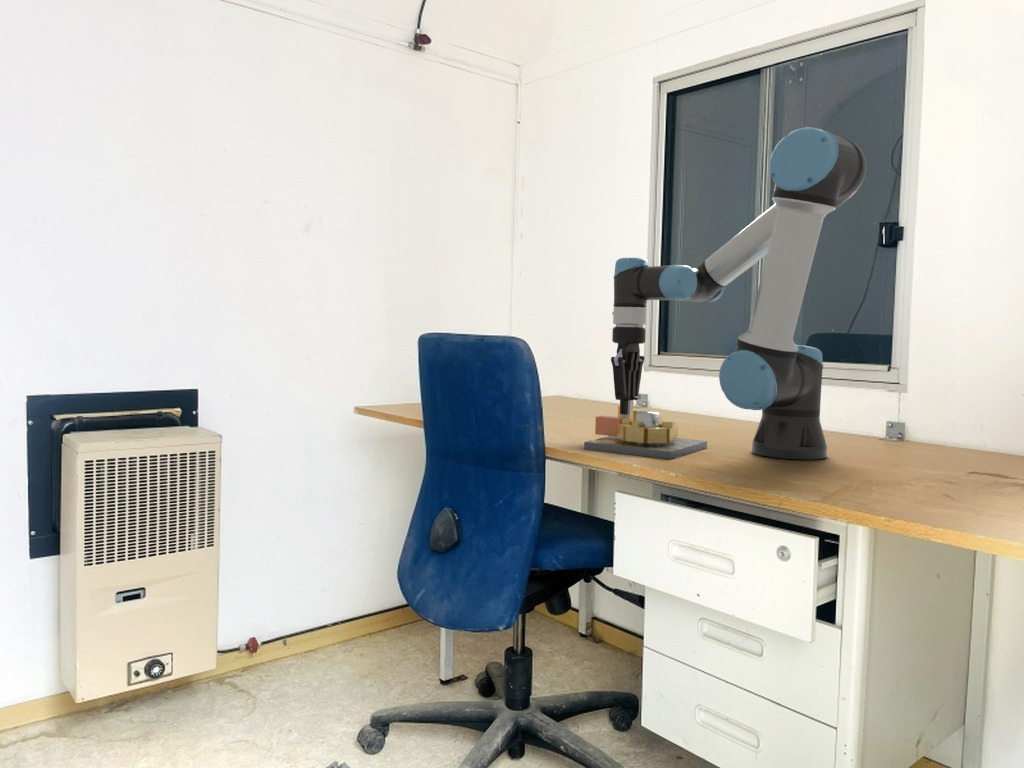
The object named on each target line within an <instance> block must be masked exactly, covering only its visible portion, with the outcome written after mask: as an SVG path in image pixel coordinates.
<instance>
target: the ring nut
mask: <svg viewBox="0 0 1024 768" xmlns="http://www.w3.org/2000/svg"><path fill="white" fill-rule="evenodd" d="M594 427H595V428H594V429H595V430H594V434H595V435H598V436H599V435H600V436H606V437H609V436H616V437H617V438H618V439H621V440H625V441H630V442H640V443H645V442H646V443H666V442H667V443H670V442H674V441H677V438H678V433H679V432H678V430H679V429H678V428H679V426H678V425H676V421H672V420H671V421H670V420H663V417H660V416H659V427H643V422H642V421H634V422H633V418H628V417H618V416H609V415H598V416H597V415H596V416H595V426H594Z"/></svg>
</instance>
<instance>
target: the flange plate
mask: <svg viewBox="0 0 1024 768" xmlns="http://www.w3.org/2000/svg"><path fill="white" fill-rule="evenodd" d="M659 417H660V412H659V411H655V410H636V421H642V422H643V427H659ZM583 443H584V444H583V449H584V450H590V451H597V452H607V453H614V454H623V455H625V454H626V455H633V456H640V457H642V456H643V457H649V458H657V459H667V460H673V459H677V458H679V457H682V456H685V455H689V454H691V453H695V452H697V451H701V450H705V449H707V448H708V440H701V439H691V438H681V437H677V441H674V442H670V443H667V442H666V443H646V442H645V443H640V442H630V441H625V440H621V439H618V438H617V437H616V436H605V437H600V438H597V439H590V440H587V441H584V442H583Z"/></svg>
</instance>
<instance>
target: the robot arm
mask: <svg viewBox="0 0 1024 768" xmlns="http://www.w3.org/2000/svg"><path fill="white" fill-rule="evenodd" d="M768 165H769V166H768V167H769V175H770V176H771V178H772V181H773V183H774V189H773V193H772V198H771V201H773V203H774V204H773V205H772V206H770V207H769V208H768V209H767V210H765V212H763V213H762V214H760V215H759V216H758V217H757V218H756V219H754V220H753V221H752V222H751V223H750V224H749V225H746V227H745V228H743V229H742V230H741V231H740V232H739V233H737V234H736V235H734V236H733V237H732V238H731V239H730V240H729V241H727V242H726V243H725V244H723V245H722V246H721V247H720V248H719V249H717V250H716V251H714V252H713V253H712V254H711V255H710V256H709V257H707V258H706V259H705V260H704V261H703V262H701V263H700V264H698V265H697V266H696V267H691V266H689V265H684V264H683V265H682V264H671V265H657V266H654V265H653V266H649V261H648V259H647V258H643V257H621V258H618V259H617V260H616V261H615V266H614V274H613V295H614V296H613V311H612V313H611V314H612V318H613V319H612V322H613V323H612V324H613V325H615V326H614V327H612V341H611V342H612V343H614V344H617V348H616V356H610V357H611V358H610V362H611V365H612V373H613V374H612V375H613V386H614V387H613V388H614V389H613V390H614V397H615V400H617V401H619V405H620V417H628V418H633V410H634V401H638V400H639V393H640V387H641V386H640V385H641V380H642V379H641V378H642V372H643V365H644V363H645V356H644V355H640V353H641V350H640V344H641V345H642V344H645V342H646V334H647V333H646V331H647V330H646V327H644V326H645V325H647V303H648V301H679V302H694V303H703V304H706V303H712V302H716V301H718V300H720V298H721V297H723V294H724V292H725V290H726V286H728V285H729V284H730V283H731V282H733V281H734V280H735V279H737V278H739V276H741V275H742V274H744V273H745V272H746V271H748V269H750V268H751V267H754V265H755V264H757V263H758V262H760V261H761V260H762V259H763V258H765V260H764V265H763V269H762V273H761V277H760V281H759V284H758V285H759V286H758V290H757V294H756V297H755V302H754V306H753V309H752V313H751V318H750V322H749V326H748V329H747V330H746V331H745V332H744V333H742V334H740V335H739V336H738V339H737V341H736V342H737V343H736V346H735V349H734V350H735V351H733V352H732V353H730V355H728V356H727V357H725V359H724V360H723V362H722V363H721V366H720V369H719V373H718V376H719V377H718V381H719V386H720V389H721V391H722V393H723V394H724V396H725V399H727V401H729V402H730V403H731V404H732V405H733V406H736V407H737V408H740V409H741V410H742V409H743V410H752V411H761V418H760V421H759V423H758V426H757V429H756V431H755V434H754V437H753V439H752V443H751V452H752V453H753V454H755V455H757V456H758V455H759V456H763V457H768V458H776V459H785V460H806V461H807V460H809V461H810V460H821V459H825V458H827V457H828V446H827V442H826V439H825V435H824V432H823V431H824V430H823V428H822V424H821V417H820V416H821V414H820V413H821V399H822V384H823V383H822V382H823V381H822V380H823V369H824V363H823V352H822V351H821V350H820V349H818V348H817V347H813V346H808V345H807V346H806V345H799V344H796V343H795V341H794V334H795V331H796V328H797V322H798V319H799V315H800V312H801V309H802V304H803V300H804V296H805V292H806V287H807V285H808V282H809V281H808V280H809V278H810V277H809V276H810V273H811V268H812V265H813V261H814V257H815V255H816V254H815V253H816V249H817V247H818V242H819V238H820V235H821V234H820V233H821V230H822V226H823V222H824V219H825V217H827V216H828V215H830V214H831V213H832V212H834V211H835V210H837V209H838V208H839V207H841V206H842V205H843V204H844V203H845V202H847V201H848V200H849V199H851V197H852V196H854V195H855V194H856V192H857V191H858V190H859V188H860V187H861V186H862V184H863V183H864V180H865V177H866V174H867V159H866V155H864V152H863V150H862V149H861V148H860V146H858V144H857V143H855V142H853V141H851V140H849V139H847V138H843V137H840V136H839V135H836V134H834V133H831V132H830V131H828V130H826V129H820V128H815V127H802V128H798V129H795V130H793V131H791V132H789V133H788V134H787V135H785V136H784V137H782V138H781V139H780V140H779V141H778V143H777V144H776V145H775V146H774V148H773V151H772V153H771V155H770V159H769V164H768Z"/></svg>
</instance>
